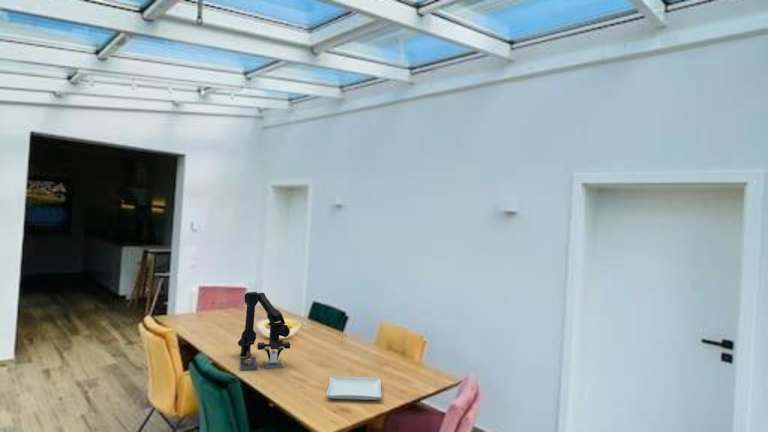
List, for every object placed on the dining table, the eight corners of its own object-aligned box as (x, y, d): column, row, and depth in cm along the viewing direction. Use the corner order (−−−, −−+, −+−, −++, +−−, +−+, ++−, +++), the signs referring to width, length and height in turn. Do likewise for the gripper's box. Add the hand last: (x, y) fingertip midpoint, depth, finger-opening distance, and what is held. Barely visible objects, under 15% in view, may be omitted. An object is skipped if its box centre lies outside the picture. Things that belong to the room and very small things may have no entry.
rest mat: (263, 361, 277) (263, 360, 277) (280, 361, 280) (280, 360, 280) (264, 368, 265) (265, 367, 265) (282, 367, 268) (282, 366, 268)
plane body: (240, 362, 274) (240, 351, 275) (255, 361, 277) (256, 350, 277) (240, 370, 259) (241, 359, 259) (257, 369, 262) (257, 358, 262)
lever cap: (269, 359, 275) (269, 349, 275) (276, 359, 276) (276, 349, 276) (270, 362, 269) (270, 352, 269) (276, 362, 270) (277, 352, 270)
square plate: (380, 384, 251) (380, 377, 251) (381, 404, 223) (382, 396, 224) (330, 382, 250) (330, 375, 250) (325, 402, 223) (326, 394, 223)
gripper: (259, 337, 262) (257, 365, 262) (292, 336, 268) (290, 363, 268) (258, 332, 273) (256, 359, 273) (289, 332, 279) (288, 357, 279)
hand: (273, 360), depth 273 cm, fingers closed on lever cap, 4 cm apart
